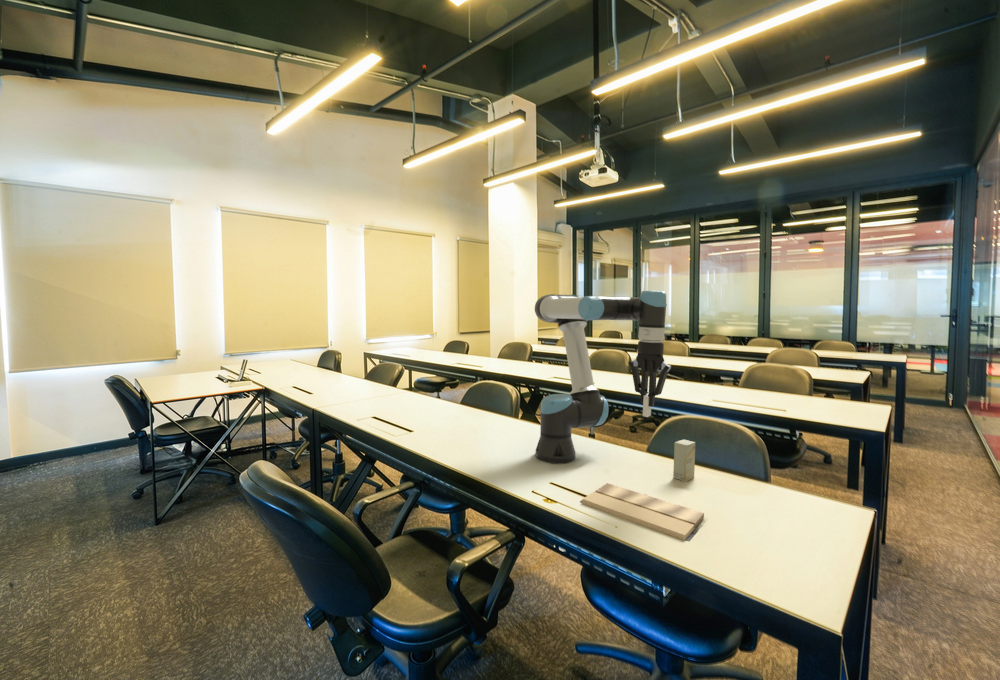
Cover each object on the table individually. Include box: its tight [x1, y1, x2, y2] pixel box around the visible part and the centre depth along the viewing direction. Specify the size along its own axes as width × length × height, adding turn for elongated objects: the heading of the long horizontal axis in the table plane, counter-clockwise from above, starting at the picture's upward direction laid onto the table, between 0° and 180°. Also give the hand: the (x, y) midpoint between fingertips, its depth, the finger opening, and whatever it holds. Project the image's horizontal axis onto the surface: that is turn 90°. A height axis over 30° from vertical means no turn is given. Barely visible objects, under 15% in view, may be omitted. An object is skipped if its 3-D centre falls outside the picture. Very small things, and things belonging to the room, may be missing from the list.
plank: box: [595, 482, 705, 529], centre depth 117 cm, size 28×7×1 cm, turn 48°
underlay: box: [579, 491, 707, 542], centre depth 114 cm, size 30×15×2 cm, turn 48°
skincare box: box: [672, 438, 696, 482], centre depth 140 cm, size 6×4×12 cm
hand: (646, 415), depth 131 cm, fingers closed
